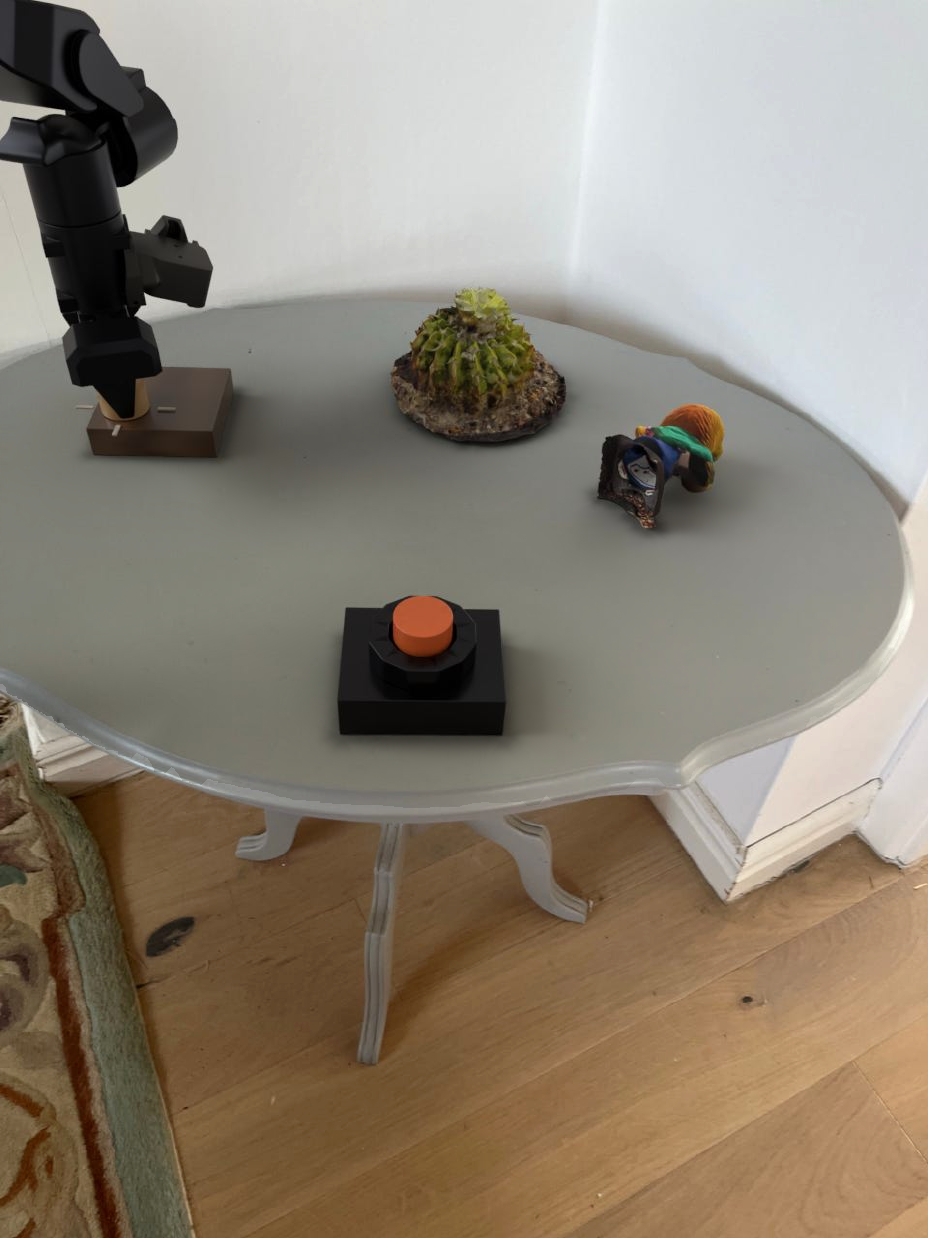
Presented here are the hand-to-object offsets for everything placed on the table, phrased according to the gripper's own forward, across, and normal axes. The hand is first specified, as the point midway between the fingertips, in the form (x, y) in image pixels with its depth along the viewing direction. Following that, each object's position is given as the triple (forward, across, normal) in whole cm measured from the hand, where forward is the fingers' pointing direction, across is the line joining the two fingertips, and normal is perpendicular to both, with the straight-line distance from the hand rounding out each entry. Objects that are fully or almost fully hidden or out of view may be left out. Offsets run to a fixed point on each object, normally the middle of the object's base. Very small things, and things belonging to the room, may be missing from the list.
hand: (124, 403), depth 79 cm
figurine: (+3, -20, -39) cm, 44 cm away
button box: (+3, -34, -14) cm, 37 cm away
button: (-2, -34, -14) cm, 37 cm away
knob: (0, 0, 0) cm, 0 cm away
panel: (+3, +1, -3) cm, 4 cm away
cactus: (+3, -2, -30) cm, 31 cm away
